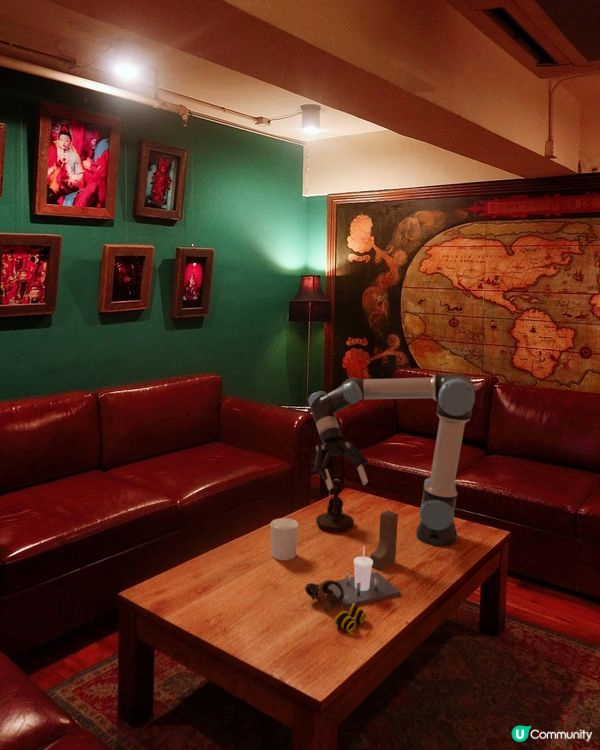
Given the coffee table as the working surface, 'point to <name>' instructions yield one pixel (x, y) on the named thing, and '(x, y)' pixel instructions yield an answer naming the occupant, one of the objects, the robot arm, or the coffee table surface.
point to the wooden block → (386, 541)
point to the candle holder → (284, 538)
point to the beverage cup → (363, 571)
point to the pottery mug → (323, 589)
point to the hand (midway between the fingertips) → (348, 485)
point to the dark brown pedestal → (335, 509)
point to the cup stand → (375, 592)
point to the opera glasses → (350, 618)
